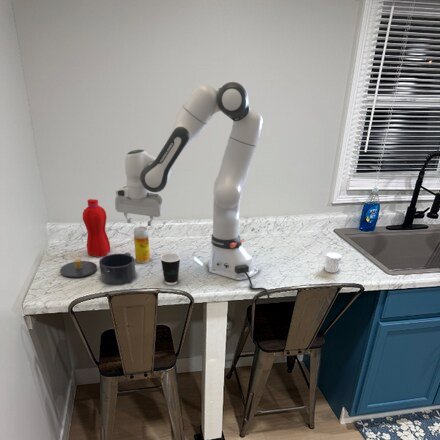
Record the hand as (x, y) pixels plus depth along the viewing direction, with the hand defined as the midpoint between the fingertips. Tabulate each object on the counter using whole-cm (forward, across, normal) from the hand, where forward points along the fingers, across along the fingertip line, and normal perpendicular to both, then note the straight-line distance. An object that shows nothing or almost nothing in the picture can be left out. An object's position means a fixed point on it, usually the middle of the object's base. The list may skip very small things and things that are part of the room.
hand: (139, 224), depth 171 cm
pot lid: (+17, +20, +18) cm, 32 cm away
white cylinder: (+16, -82, -18) cm, 85 cm away
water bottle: (+18, +22, -2) cm, 28 cm away
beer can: (+17, 0, 0) cm, 17 cm away
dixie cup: (+17, -20, +15) cm, 30 cm away
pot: (+17, +2, +18) cm, 25 cm away
